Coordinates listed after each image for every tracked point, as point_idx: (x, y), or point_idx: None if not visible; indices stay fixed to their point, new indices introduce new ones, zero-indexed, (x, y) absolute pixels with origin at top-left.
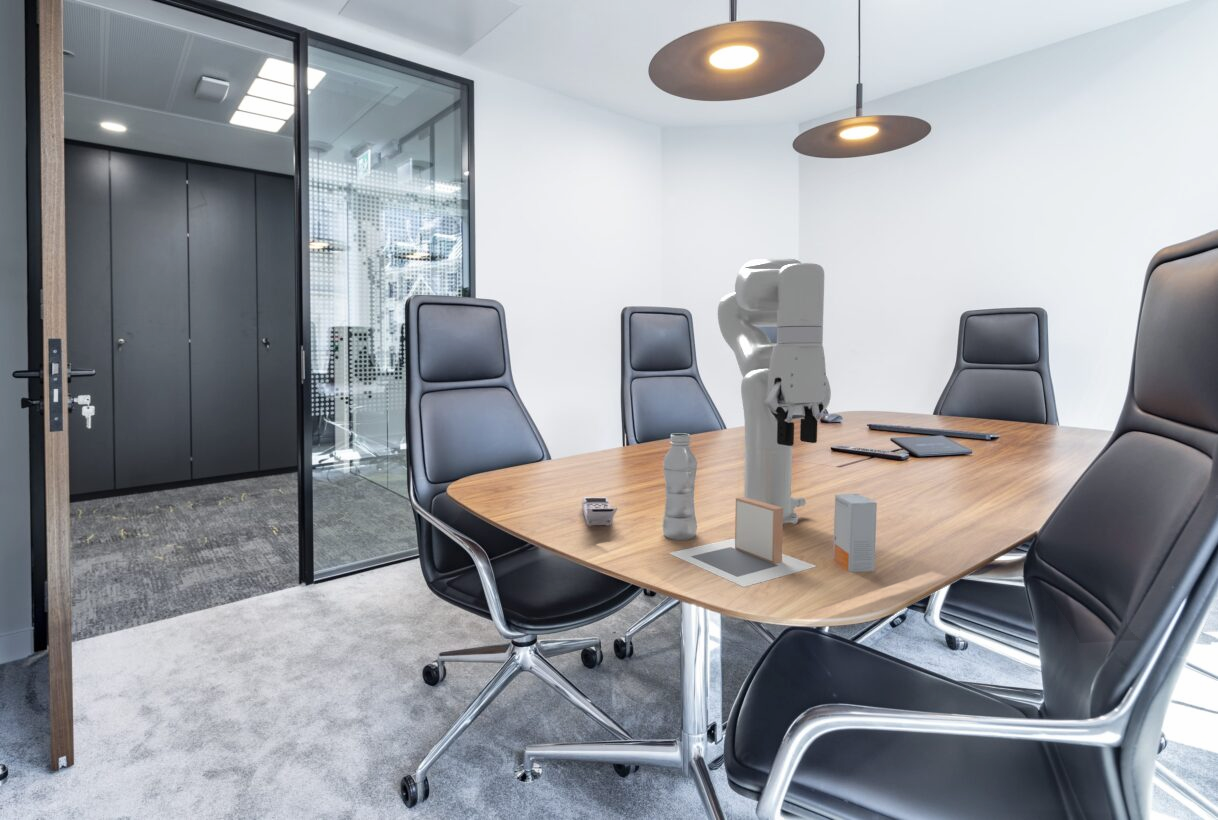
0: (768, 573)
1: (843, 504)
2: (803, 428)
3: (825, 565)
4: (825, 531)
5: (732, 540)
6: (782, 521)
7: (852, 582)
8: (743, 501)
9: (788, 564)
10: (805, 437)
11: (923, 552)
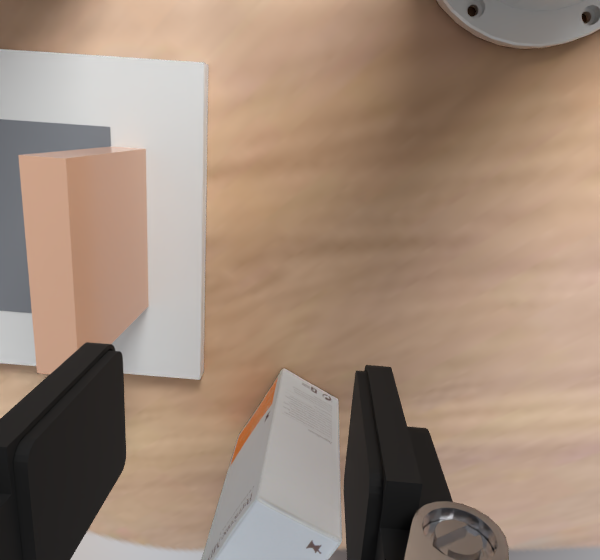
0: None
1: (223, 534)
2: (359, 458)
3: (265, 356)
4: (564, 167)
5: (165, 76)
6: None
7: (219, 452)
8: (26, 203)
9: (146, 329)
10: (351, 433)
11: (570, 453)
